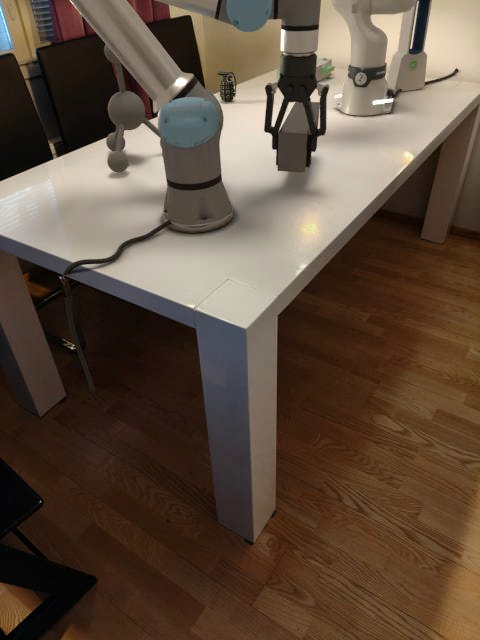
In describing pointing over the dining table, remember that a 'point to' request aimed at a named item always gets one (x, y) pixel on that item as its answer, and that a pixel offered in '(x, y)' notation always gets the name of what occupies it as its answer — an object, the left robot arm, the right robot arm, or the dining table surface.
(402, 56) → the electronic device
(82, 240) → the dining table surface
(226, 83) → the grenade
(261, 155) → the dining table surface
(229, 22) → the left robot arm
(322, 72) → the decorative block
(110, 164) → the molecular model
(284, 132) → the box
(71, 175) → the dining table surface
